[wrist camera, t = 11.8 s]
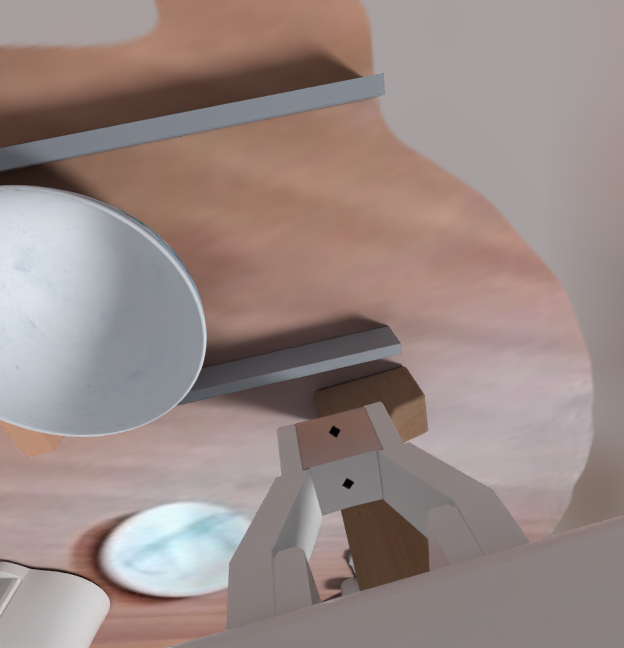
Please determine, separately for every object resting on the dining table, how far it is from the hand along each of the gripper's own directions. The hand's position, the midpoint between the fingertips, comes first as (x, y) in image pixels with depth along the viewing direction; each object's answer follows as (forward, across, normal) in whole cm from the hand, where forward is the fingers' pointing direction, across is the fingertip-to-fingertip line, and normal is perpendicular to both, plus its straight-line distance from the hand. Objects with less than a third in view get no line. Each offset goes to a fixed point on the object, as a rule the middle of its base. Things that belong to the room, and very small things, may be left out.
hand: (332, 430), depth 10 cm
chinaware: (+19, -12, 0) cm, 23 cm away
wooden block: (+19, +5, -16) cm, 25 cm away
